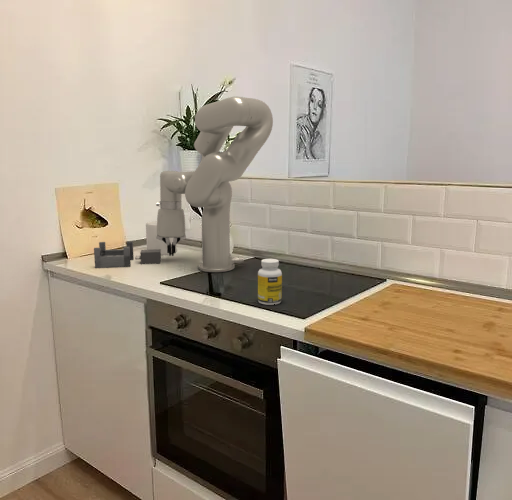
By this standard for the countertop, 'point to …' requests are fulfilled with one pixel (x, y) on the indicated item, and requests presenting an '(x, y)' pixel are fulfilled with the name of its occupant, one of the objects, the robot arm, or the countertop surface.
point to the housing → (113, 256)
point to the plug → (150, 256)
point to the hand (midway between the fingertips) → (171, 255)
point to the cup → (155, 243)
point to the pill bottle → (269, 282)
